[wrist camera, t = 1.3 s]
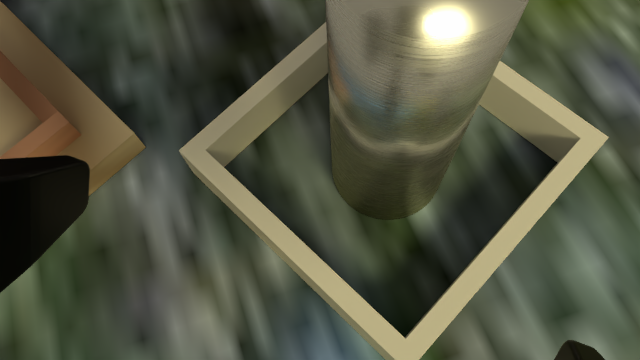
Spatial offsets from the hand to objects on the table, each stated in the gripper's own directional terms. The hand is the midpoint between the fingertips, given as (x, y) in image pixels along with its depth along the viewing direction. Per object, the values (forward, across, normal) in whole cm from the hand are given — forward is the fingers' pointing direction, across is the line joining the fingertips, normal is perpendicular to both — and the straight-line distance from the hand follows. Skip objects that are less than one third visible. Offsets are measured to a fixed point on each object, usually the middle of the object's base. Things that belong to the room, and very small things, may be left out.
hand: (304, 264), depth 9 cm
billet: (+15, 0, +4) cm, 15 cm away
